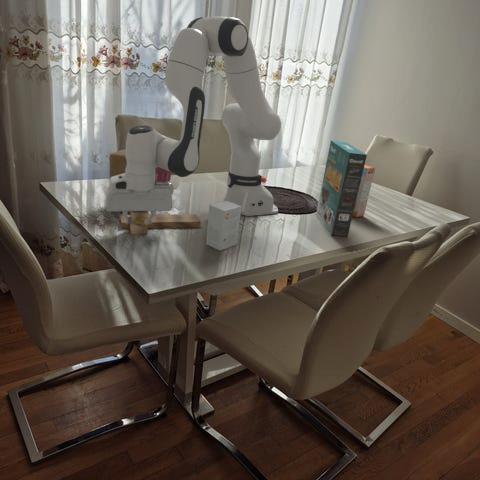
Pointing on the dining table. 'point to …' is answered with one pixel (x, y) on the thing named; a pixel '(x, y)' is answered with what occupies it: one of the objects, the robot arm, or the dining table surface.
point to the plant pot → (162, 175)
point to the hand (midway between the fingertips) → (138, 223)
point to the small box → (223, 225)
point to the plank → (168, 221)
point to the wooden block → (118, 163)
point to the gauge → (139, 222)
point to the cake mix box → (340, 187)
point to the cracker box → (363, 191)
